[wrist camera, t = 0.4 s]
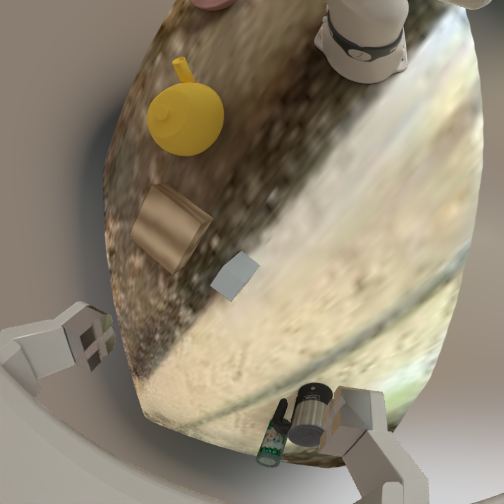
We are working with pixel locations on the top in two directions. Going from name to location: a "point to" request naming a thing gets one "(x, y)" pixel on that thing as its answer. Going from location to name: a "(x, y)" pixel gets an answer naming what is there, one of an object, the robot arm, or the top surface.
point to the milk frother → (304, 415)
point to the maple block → (169, 227)
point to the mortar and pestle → (212, 4)
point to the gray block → (234, 275)
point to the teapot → (185, 115)
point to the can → (272, 447)
